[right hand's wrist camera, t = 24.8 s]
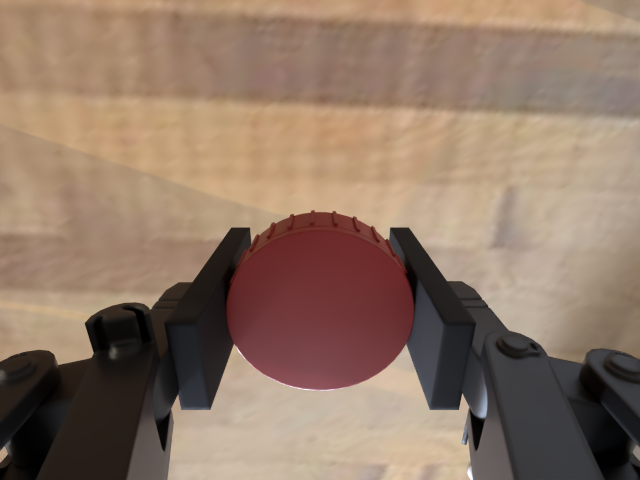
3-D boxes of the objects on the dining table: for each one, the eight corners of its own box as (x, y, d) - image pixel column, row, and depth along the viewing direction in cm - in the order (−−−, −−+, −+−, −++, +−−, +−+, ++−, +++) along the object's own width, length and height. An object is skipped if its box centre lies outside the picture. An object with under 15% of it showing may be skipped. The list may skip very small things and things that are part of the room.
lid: (219, 333, 13) (204, 366, 11) (261, 184, 11) (250, 199, 9) (366, 373, 13) (373, 409, 12) (432, 241, 11) (451, 264, 10)
